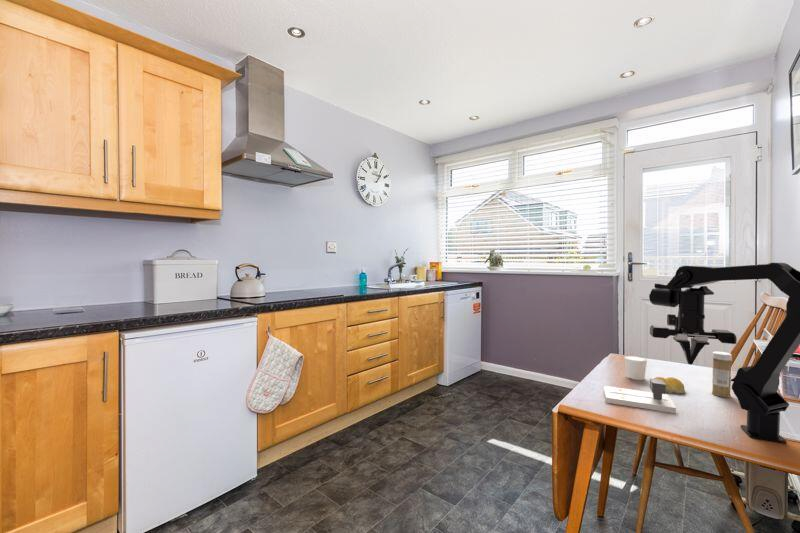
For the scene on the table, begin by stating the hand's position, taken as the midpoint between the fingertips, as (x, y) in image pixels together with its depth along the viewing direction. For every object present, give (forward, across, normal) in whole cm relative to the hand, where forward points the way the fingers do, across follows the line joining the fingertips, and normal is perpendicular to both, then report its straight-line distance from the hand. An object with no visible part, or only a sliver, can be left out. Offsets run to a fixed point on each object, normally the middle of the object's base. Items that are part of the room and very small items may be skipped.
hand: (689, 364), depth 105 cm
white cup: (+13, +10, -26) cm, 30 cm away
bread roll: (+13, +2, -16) cm, 21 cm away
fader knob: (+11, +7, 0) cm, 13 cm away
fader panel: (+13, +12, 0) cm, 18 cm away
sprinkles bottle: (+13, -12, -18) cm, 25 cm away
